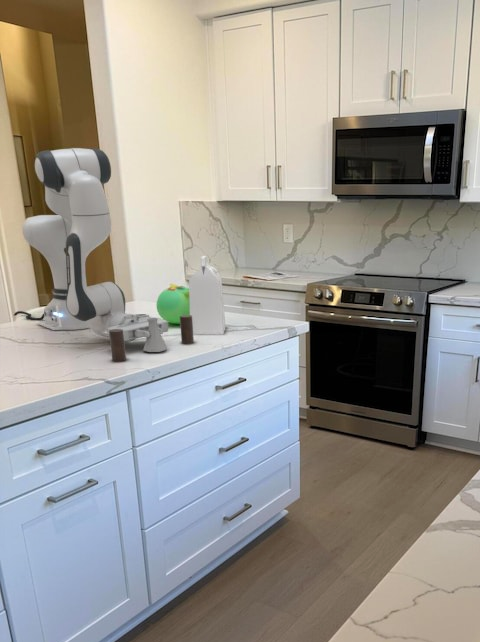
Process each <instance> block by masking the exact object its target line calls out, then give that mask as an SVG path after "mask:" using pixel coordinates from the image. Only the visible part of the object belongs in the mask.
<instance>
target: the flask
mask: <svg viewBox="0 0 480 642" xmlns="http://www.w3.org/2000/svg"><path fill="white" fill-rule="evenodd" d="M158 318H159V317H156V318H148V319H147V321H148V323H149V328H148V331H151V337H148V338H147V337H146V338H145V343H144V346H143V351H144V352H147V353H148V352H149V353H160V352H164V351H166V350H167V349H168V346H167V344H166V342H165V340H164V338H163V336H162V334H160V331H159V328H158V325H157V320H158Z"/></svg>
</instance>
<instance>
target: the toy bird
mask: <svg viewBox="0 0 480 642" xmlns="http://www.w3.org/2000/svg"><path fill="white" fill-rule="evenodd" d="M169 286H170V287H167V288H165V289H164V290H163V291H162V292H160V294H159V295H158V297H157V300H156V311H157V314H158V315H159V317H160V318H161V319H164V320H166V321H167V322H168V324H169V323H170V324H172V325H173V324H174V325H180V316H181V315H190V302H189V287H186V286H183V285H180V286H179V285H177V284H174V283H169Z"/></svg>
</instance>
